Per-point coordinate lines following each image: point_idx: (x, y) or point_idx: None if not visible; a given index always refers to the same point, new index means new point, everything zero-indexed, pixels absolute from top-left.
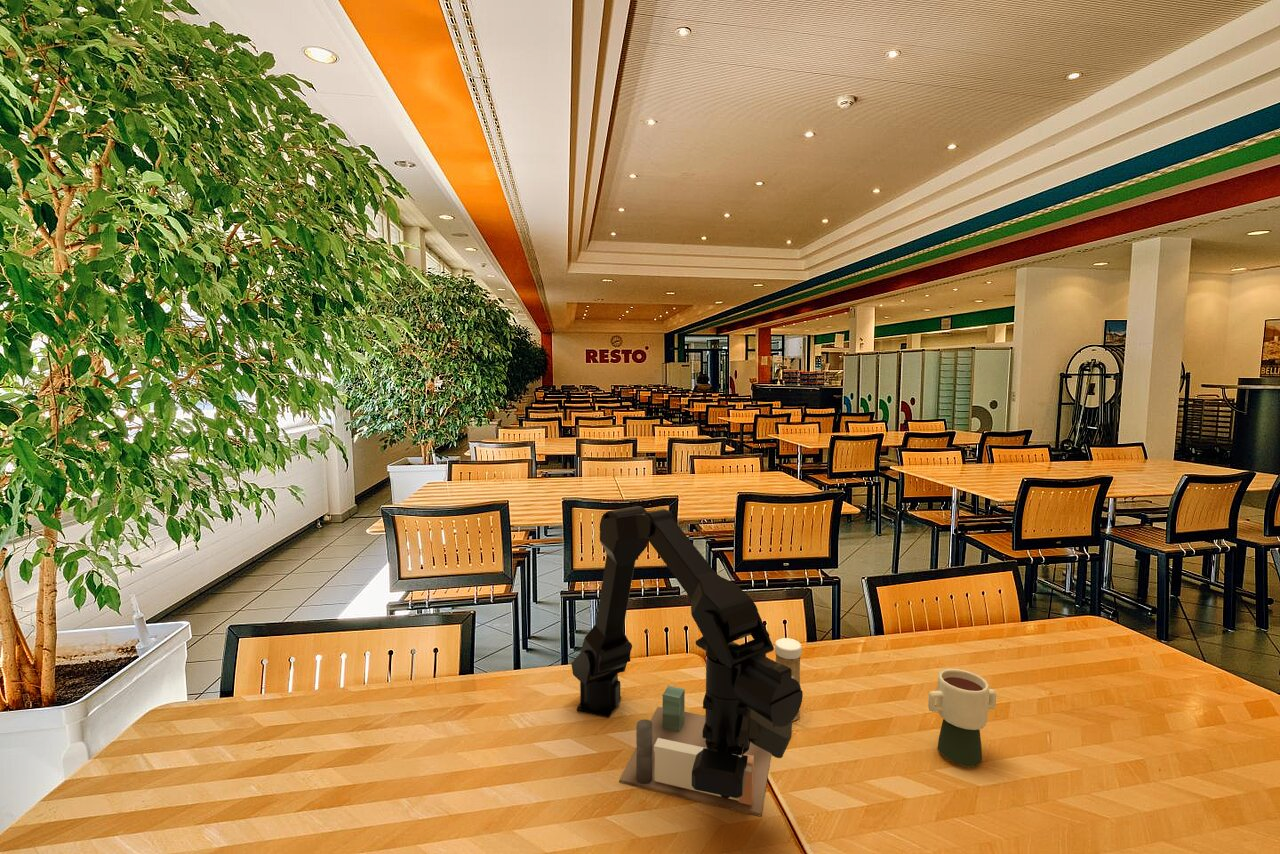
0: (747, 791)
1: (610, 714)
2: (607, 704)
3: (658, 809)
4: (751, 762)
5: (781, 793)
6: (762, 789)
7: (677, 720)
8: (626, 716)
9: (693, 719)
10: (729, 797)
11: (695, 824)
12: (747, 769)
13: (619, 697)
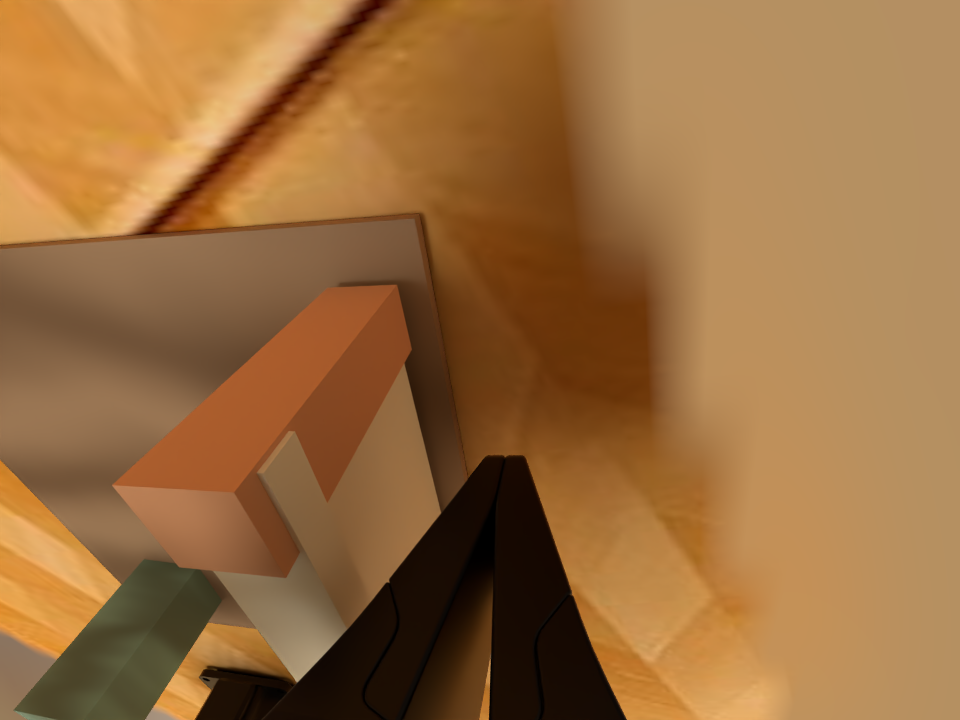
0: (373, 349)
1: (276, 685)
2: (259, 711)
3: (566, 570)
4: (221, 499)
5: (176, 128)
6: (237, 247)
7: (168, 614)
8: (250, 654)
9: (106, 540)
10: (408, 394)
11: (597, 471)
12: (297, 472)
13: (213, 700)
